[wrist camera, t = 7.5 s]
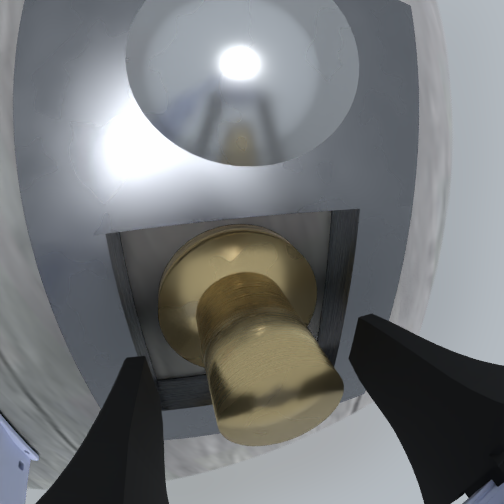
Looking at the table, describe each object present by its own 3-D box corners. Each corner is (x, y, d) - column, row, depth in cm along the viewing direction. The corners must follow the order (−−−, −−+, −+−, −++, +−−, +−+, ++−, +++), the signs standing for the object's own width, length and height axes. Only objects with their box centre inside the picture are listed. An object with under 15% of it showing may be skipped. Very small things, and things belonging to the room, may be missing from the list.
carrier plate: (349, 372, 17) (376, 410, 14) (123, 414, 14) (122, 464, 11) (381, 15, 9) (435, -2, 6) (46, 11, 6) (8, -22, 3)
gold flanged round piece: (301, 338, 15) (360, 431, 9) (174, 362, 13) (189, 477, 8) (308, 215, 12) (411, 289, 6) (145, 235, 10) (124, 347, 5)
